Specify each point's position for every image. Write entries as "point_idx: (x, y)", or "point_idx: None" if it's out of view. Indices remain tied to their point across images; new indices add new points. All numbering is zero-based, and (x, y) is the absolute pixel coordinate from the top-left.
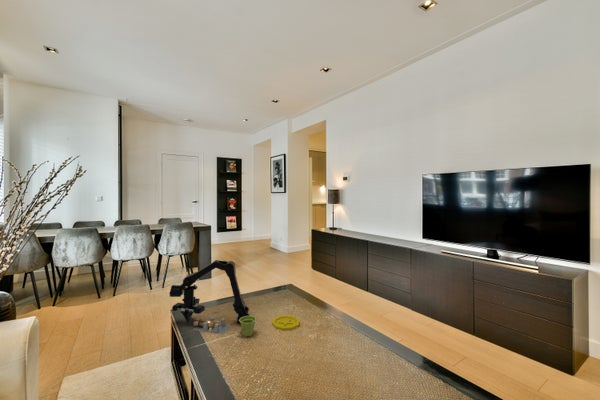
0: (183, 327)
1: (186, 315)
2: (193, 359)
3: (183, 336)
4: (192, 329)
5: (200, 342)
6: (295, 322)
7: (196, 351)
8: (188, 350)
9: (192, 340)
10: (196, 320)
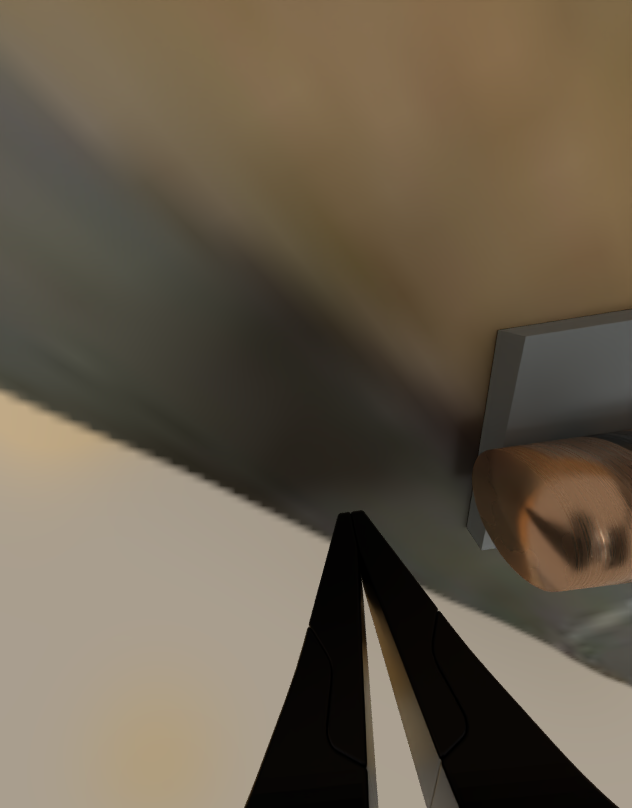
0: (303, 502)
1: (373, 757)
2: (628, 676)
3: (433, 592)
4: (484, 543)
5: (626, 593)
6: None
7: (625, 646)
8: (566, 654)
9: (545, 598)
10: (597, 584)
